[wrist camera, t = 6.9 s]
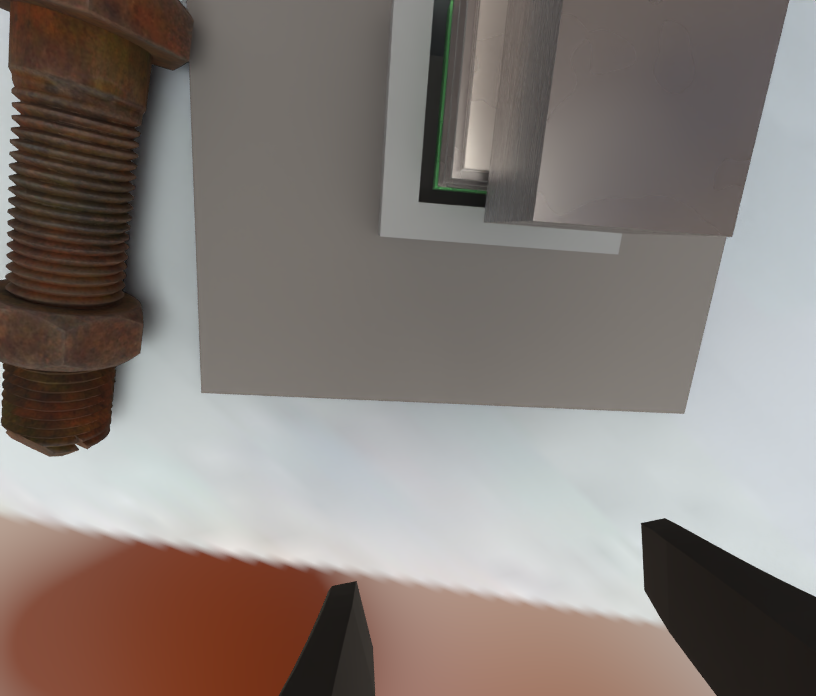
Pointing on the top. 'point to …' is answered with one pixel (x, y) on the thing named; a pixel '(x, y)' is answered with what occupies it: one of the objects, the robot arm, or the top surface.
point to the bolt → (75, 207)
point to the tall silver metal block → (605, 110)
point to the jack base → (401, 235)
